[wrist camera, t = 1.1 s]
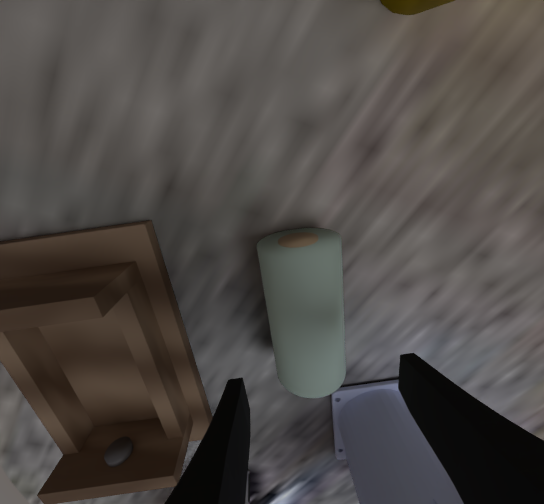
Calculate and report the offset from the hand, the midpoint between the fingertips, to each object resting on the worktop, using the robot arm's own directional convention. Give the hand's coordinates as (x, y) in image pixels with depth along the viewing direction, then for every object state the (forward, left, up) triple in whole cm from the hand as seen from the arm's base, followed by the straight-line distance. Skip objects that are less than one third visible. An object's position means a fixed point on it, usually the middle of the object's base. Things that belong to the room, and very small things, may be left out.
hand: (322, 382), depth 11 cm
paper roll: (0, 0, -6) cm, 6 cm away
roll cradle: (-3, +15, -8) cm, 17 cm away
